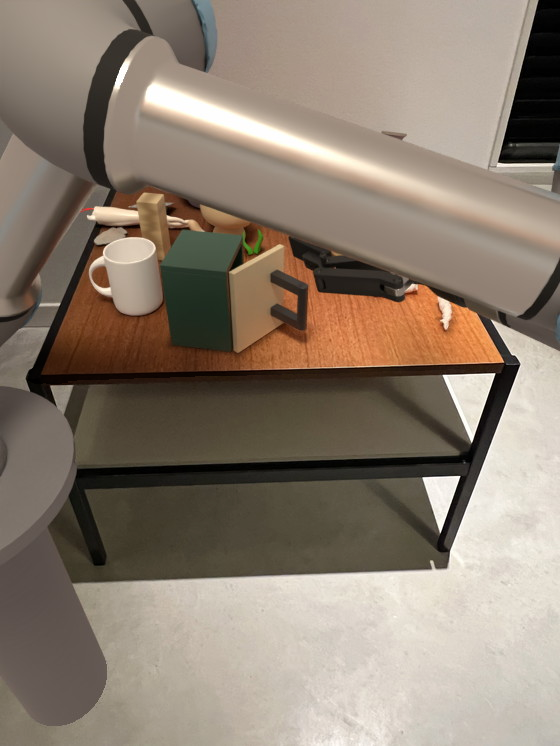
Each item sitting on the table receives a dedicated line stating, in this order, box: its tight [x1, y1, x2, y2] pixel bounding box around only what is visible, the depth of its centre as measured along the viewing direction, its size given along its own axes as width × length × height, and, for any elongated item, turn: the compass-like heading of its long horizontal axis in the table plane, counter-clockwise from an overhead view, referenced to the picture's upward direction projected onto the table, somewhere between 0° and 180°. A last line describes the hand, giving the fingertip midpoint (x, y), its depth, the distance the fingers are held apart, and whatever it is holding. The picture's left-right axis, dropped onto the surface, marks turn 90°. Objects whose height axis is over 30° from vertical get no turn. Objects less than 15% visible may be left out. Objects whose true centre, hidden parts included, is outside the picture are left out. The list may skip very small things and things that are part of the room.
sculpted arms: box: [405, 284, 453, 331], centre depth 105 cm, size 15×6×6 cm
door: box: [229, 244, 309, 354], centre depth 92 cm, size 8×11×15 cm
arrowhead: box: [93, 226, 128, 246], centre depth 122 cm, size 8×4×2 cm
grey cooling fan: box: [128, 201, 176, 212], centre depth 130 cm, size 11×11×2 cm
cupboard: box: [159, 229, 245, 353], centre depth 95 cm, size 10×11×15 cm
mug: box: [88, 236, 164, 317], centre depth 102 cm, size 9×12×11 cm
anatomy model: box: [80, 205, 190, 229], centre depth 126 cm, size 25×5×4 cm
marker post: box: [135, 192, 172, 261], centre depth 114 cm, size 4×4×12 cm
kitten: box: [188, 204, 264, 256], centre depth 117 cm, size 15×10×15 cm
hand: (335, 215), depth 71 cm, fingers open, 13 cm apart
